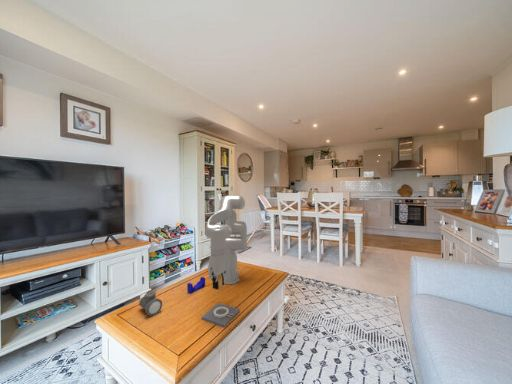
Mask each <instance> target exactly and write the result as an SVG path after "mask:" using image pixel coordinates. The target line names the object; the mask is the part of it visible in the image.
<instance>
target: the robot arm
mask: <svg viewBox="0 0 512 384" xmlns="http://www.w3.org/2000/svg"><path fill="white" fill-rule="evenodd" d="M245 201H246V200H245V198H244V197H243V196H241V195H224V196H223V197H221V199H220V203H219V207H218V210H217V211H216V212H215V213H213V214H212V215H211V216H210V217H209V218H208V220H207V223H206V226H205V232H204V233H205V236H206V238H208V239H210V255H209V259H208V266H207V267H208V279H209V280H210V281H211V282H212V289H213V290H215V289H218V281H217V280H218V275H219V274H221V275H222V286H224V285H235V284H237V283H239V282H240V277H239V276H238V275H239V274H240V272H241V271H239V270H238V254H237V253H236V252H235V251H245V250H246V249H247V246H248V228H247V223H246V222H245V221H242V220H241V221H240V220H239V221H237V219H238V217H237V213H236V211H235V210H243V209H244V208H245V205H246V202H245ZM221 222H224V224H219V223H221ZM232 235H233V236H232ZM234 235H235V236H234ZM236 235H237V236H236ZM214 276H215V277H216V278H214Z"/></svg>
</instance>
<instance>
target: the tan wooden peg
mask: <svg viewBox="0 0 512 384" xmlns="http://www.w3.org/2000/svg"><path fill="white" fill-rule="evenodd" d="M214 278H216V277H215V276H214ZM217 281H218V289H214V290H216V291H220V290H222V289H223V285H222V275H221V274H219V275H218V280H217Z"/></svg>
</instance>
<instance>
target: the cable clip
mask: <svg viewBox="0 0 512 384" xmlns="http://www.w3.org/2000/svg"><path fill="white" fill-rule="evenodd" d="M186 285H187V286H186V287H187V288H186V289H187V291H186V293H187V294H189V295H191V294H193V293H195V292H197V291H200V290H201V289H203V288H204V287H206V277H204V276H201V277H200V279H199V281H197V282H196V284H195V285H193V283H192V282H188V283H187V284H186Z"/></svg>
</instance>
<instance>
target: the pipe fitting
mask: <svg viewBox="0 0 512 384" xmlns="http://www.w3.org/2000/svg"><path fill="white" fill-rule="evenodd" d="M156 295H157V291H155V290H151V291H148V292H146V293H145V294H144V296H142V297H141V299H140V300H139V304H138V305H139V306H140V307H141V308H143V309H144V311H145V313H146V314H147V316H150V317H154V316H156V315H158V314H159V313H160V311H161V310H162V308H163V301H162V300H161V299H159V298H156Z"/></svg>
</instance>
